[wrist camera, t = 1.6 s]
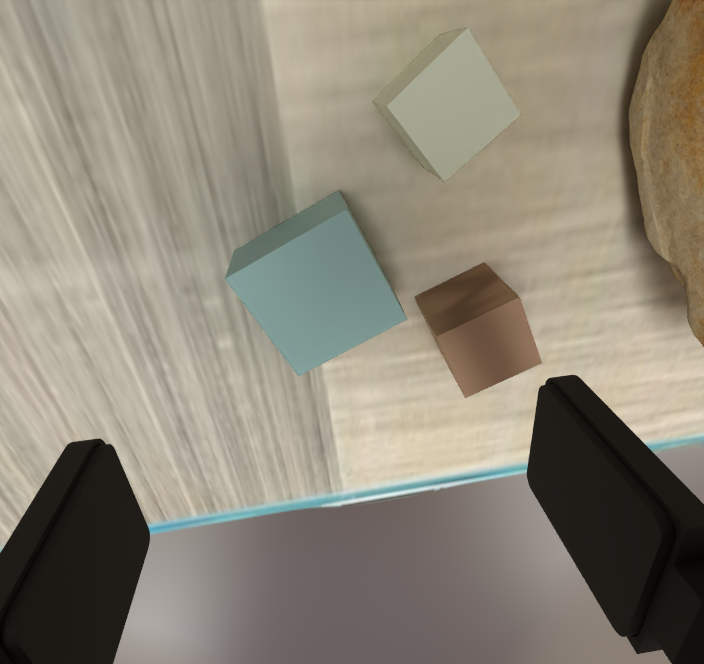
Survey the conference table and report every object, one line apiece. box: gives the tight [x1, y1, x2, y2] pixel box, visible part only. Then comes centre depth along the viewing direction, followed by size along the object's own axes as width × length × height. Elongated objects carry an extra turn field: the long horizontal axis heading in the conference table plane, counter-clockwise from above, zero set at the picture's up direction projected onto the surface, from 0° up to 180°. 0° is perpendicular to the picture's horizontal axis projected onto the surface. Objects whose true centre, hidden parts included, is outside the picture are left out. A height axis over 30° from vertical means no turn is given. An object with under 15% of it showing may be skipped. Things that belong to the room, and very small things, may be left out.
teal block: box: [225, 190, 407, 376], centre depth 30 cm, size 8×8×5 cm
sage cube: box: [373, 27, 521, 182], centre depth 26 cm, size 5×5×5 cm
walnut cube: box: [415, 263, 542, 398], centre depth 32 cm, size 6×6×6 cm
